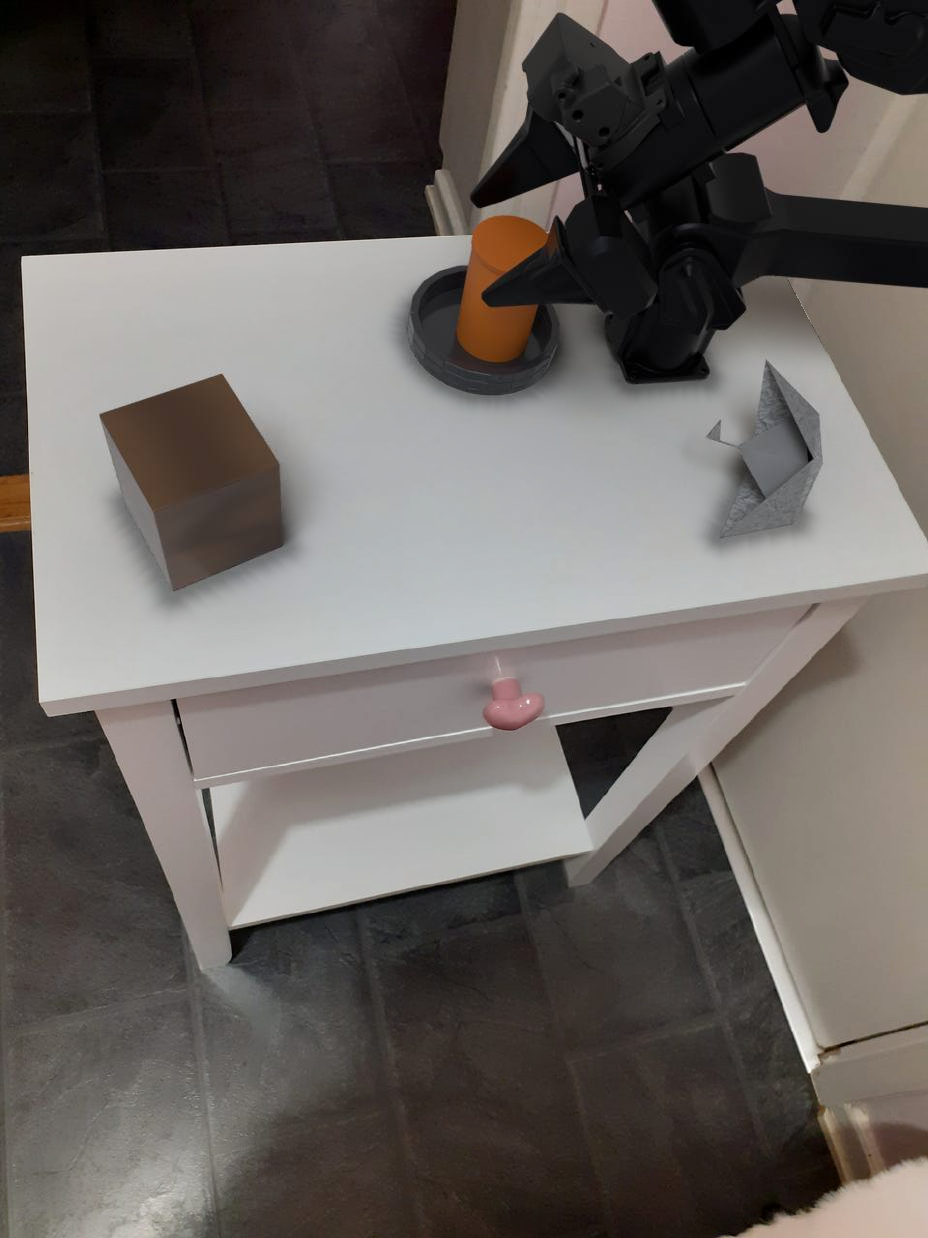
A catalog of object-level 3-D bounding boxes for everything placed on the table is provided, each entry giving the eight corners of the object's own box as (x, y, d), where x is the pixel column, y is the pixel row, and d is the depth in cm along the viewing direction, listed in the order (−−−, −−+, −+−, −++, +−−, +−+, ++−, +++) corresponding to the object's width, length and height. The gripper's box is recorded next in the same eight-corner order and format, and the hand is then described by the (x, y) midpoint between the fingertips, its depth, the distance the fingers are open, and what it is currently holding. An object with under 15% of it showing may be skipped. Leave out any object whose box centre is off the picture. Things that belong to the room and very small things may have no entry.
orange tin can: (536, 322, 68) (562, 230, 61) (518, 373, 65) (544, 283, 58) (466, 299, 68) (484, 205, 61) (445, 349, 65) (462, 256, 58)
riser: (232, 462, 58) (222, 372, 51) (283, 546, 56) (280, 463, 49) (124, 502, 56) (98, 413, 49) (172, 591, 53) (153, 511, 46)
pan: (533, 283, 70) (538, 262, 68) (569, 390, 65) (576, 370, 64) (395, 288, 68) (398, 266, 66) (423, 399, 63) (426, 379, 61)
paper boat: (830, 561, 60) (714, 528, 57) (766, 557, 66) (658, 526, 63) (874, 380, 60) (760, 336, 56) (806, 391, 66) (699, 352, 62)
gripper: (613, -113, 50) (393, 65, 58) (674, 97, 42) (405, 274, 49) (695, 49, 59) (493, 187, 66) (760, 254, 50) (519, 385, 57)
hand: (478, 249), depth 60 cm, fingers open, 9 cm apart
